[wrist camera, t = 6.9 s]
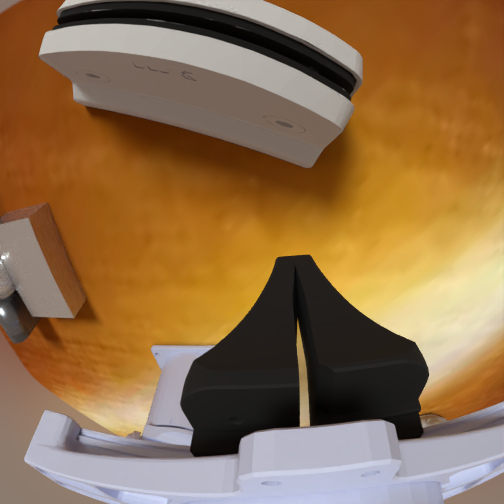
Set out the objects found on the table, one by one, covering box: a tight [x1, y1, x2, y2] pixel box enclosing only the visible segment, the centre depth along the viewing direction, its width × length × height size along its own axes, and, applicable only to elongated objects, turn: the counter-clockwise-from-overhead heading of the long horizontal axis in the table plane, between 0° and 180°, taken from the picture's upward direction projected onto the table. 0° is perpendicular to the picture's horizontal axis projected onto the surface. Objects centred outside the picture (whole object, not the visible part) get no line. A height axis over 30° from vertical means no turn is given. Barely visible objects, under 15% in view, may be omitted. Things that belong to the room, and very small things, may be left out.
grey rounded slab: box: [39, 0, 363, 168], centre depth 13 cm, size 17×5×10 cm, turn 71°
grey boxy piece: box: [0, 202, 87, 318], centre depth 23 cm, size 10×9×5 cm
